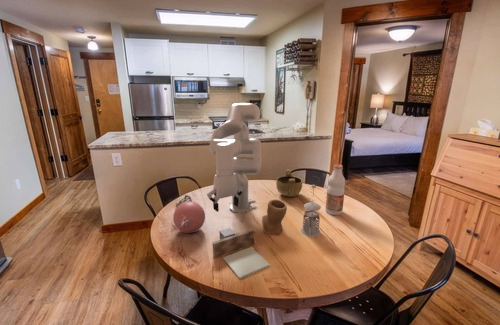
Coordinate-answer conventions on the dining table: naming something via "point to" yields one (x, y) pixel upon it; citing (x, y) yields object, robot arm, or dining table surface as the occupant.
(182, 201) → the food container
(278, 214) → the stone cup
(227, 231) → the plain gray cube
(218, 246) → the walnut screen
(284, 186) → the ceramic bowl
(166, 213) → the dining table surface
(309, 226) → the french press
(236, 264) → the display mat
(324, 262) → the dining table surface
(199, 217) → the balloon
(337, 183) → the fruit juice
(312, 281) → the dining table surface
